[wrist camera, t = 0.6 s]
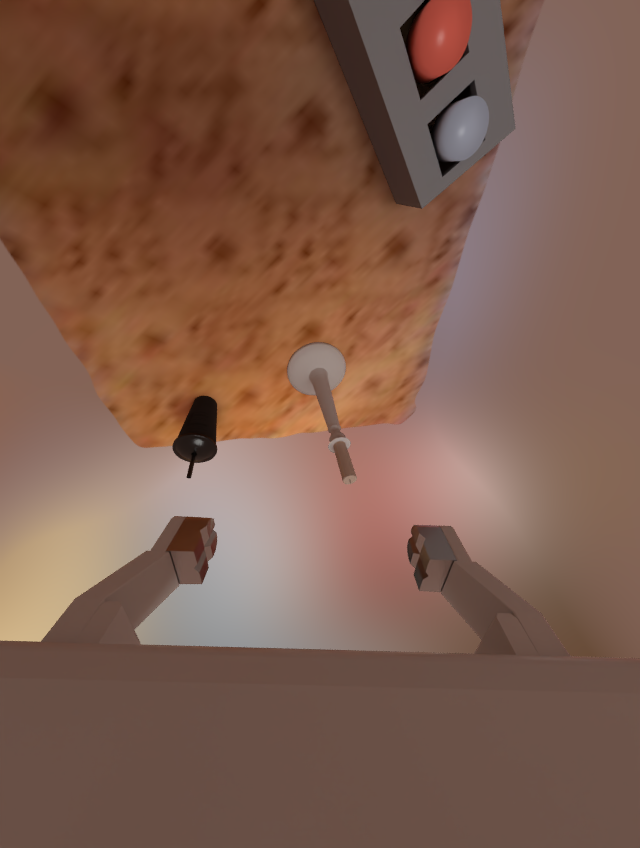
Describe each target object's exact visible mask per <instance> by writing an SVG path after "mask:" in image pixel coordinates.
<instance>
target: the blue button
mask: <svg viewBox="0 0 640 848" xmlns="http://www.w3.org/2000/svg"><path fill="white" fill-rule="evenodd" d="M488 124H489V110H488V106H487V104H486V102H485V100H484V99H483V98H481V97H479V96H471V97H468V98H465V99H462V100H460V101H457V102H454V103H452V104H449V105H448V106H446V107H445V108H444V109H443V110H442V111H441V113H440V114H439V115H438V117H437V119H436V121H435V123H434V125H433V129H432V132H431V139H432V142H433V146H434V149H435V153H436V156H437V160H438V161H441V162H452V161H463V160H466V159H468V158H469V157H471V156H472V155H473V154H474V153H475V152H476V151H477V150H478V148H479V147H480V145H481V144H482V142H483V140H484V138H485V135H486V132H487V129H488Z"/></svg>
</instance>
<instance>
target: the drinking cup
mask: <svg viewBox="0 0 640 848" xmlns="http://www.w3.org/2000/svg"><path fill="white" fill-rule="evenodd" d="M216 423H217V403H216V401H215V400H214V399H212V398H211V397H208V396H200V397H198V398H196V399H195V400H194V403H193V405H192V407H191V409H190V411H189V414H188V416H187V418H186V420H185V422H184V424H183V427H182V429H181V431H180V433H179V435H178V438H176V439H175V441H174V443H173V451H174V453H175V454H176V455H177V456H178V457H179V458H181V459H183V460H185V461H188V462H190V465H189V469H188V474H187V478H191V475H192V471H193V466H194V463H200V462H205V461H209V460H211V459H212V458H213V457H214V456H215V455H216V453H217V445H216Z"/></svg>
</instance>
